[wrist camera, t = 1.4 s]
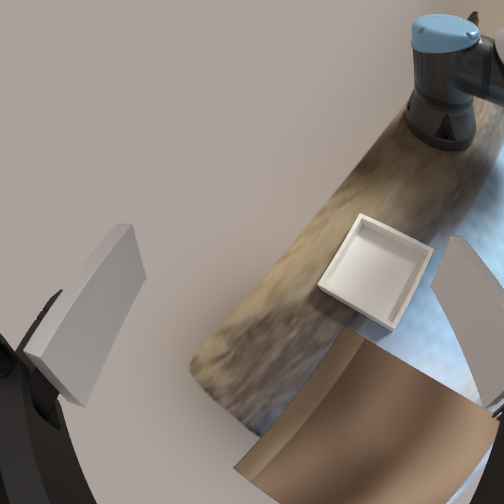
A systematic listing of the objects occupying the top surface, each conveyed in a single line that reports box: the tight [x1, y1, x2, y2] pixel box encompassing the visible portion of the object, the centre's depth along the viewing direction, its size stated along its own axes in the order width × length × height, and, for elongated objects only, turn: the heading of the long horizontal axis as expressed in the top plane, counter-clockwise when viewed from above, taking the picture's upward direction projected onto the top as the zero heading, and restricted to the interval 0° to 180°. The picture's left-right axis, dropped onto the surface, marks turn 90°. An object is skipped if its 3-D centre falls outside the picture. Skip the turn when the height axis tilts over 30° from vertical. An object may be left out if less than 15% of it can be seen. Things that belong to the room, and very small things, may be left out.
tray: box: [318, 213, 434, 332], centre depth 37 cm, size 12×12×3 cm
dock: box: [233, 326, 500, 504], centre depth 21 cm, size 14×13×22 cm
